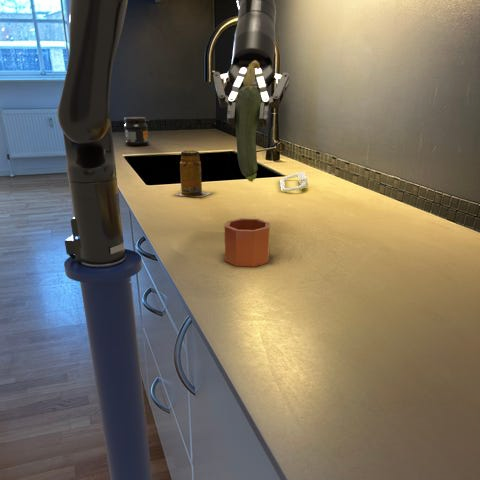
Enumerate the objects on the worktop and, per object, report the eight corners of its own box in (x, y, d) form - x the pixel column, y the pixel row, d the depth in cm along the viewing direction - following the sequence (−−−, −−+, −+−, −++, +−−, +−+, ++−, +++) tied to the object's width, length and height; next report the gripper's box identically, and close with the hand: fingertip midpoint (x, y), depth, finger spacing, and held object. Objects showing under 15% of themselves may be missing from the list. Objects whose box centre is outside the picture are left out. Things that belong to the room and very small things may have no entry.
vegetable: (233, 182, 93) (232, 60, 84) (239, 178, 97) (239, 60, 88) (256, 184, 92) (258, 59, 83) (262, 179, 96) (264, 59, 87)
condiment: (187, 190, 155) (185, 149, 150) (212, 193, 152) (211, 151, 146) (175, 195, 149) (172, 152, 144) (200, 198, 146) (199, 154, 140)
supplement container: (152, 144, 241) (150, 116, 236) (142, 147, 232) (140, 119, 227) (132, 143, 244) (130, 116, 239) (121, 146, 235) (119, 118, 230)
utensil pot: (223, 265, 98) (222, 230, 95) (229, 251, 106) (228, 217, 102) (267, 267, 97) (268, 231, 94) (269, 252, 105) (270, 219, 102)
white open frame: (281, 184, 169) (278, 173, 168) (305, 178, 168) (303, 166, 166) (282, 198, 152) (279, 186, 150) (309, 192, 150) (307, 179, 149)
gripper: (213, 29, 91) (203, 108, 85) (293, 29, 89) (288, 110, 84) (217, 62, 98) (209, 137, 93) (292, 62, 96) (288, 139, 91)
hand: (247, 124), depth 88 cm, fingers closed on vegetable, 4 cm apart
